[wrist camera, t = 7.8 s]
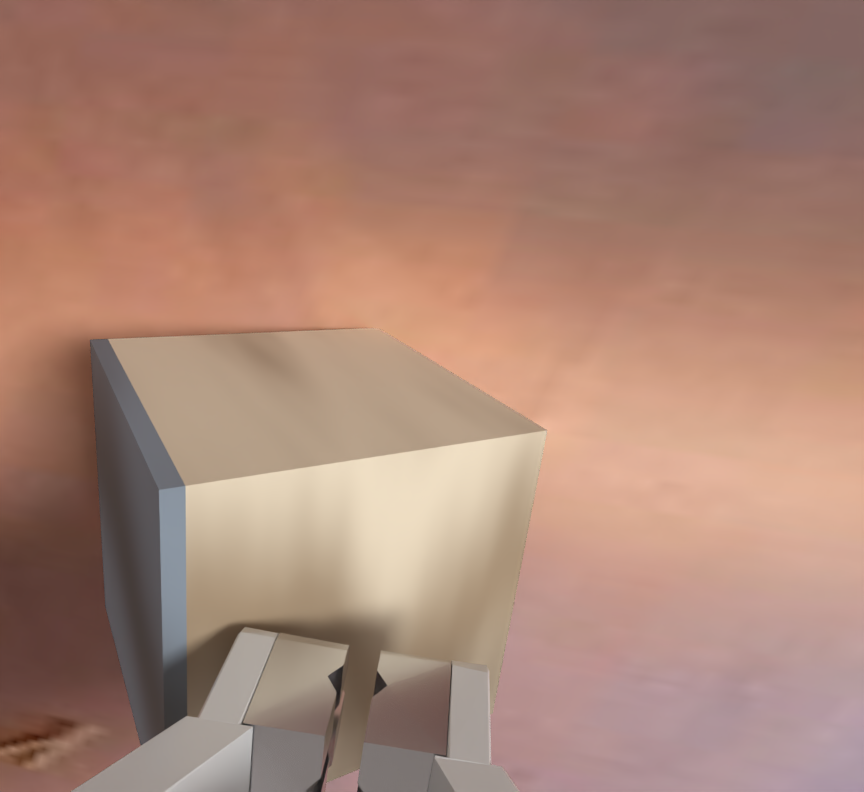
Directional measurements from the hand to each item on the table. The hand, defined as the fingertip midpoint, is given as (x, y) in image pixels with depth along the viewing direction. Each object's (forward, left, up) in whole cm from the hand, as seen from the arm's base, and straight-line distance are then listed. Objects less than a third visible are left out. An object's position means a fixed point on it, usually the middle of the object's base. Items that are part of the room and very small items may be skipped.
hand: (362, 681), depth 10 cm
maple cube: (0, -1, -5) cm, 5 cm away
